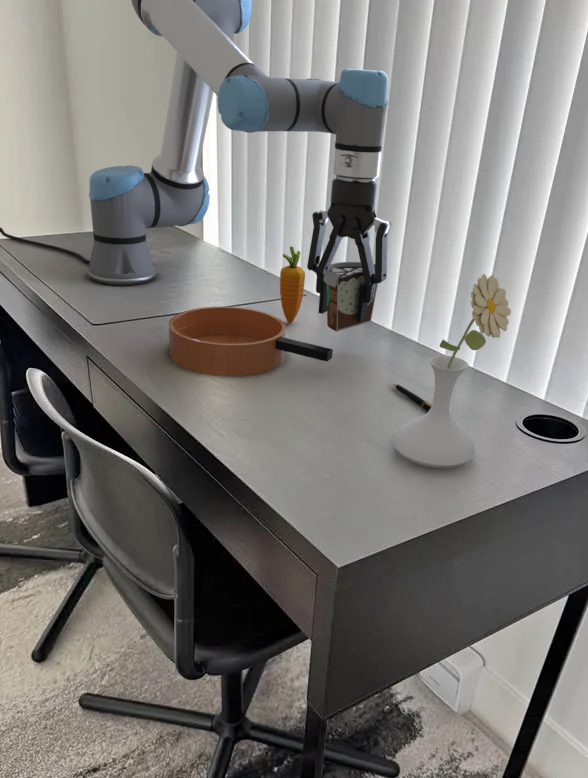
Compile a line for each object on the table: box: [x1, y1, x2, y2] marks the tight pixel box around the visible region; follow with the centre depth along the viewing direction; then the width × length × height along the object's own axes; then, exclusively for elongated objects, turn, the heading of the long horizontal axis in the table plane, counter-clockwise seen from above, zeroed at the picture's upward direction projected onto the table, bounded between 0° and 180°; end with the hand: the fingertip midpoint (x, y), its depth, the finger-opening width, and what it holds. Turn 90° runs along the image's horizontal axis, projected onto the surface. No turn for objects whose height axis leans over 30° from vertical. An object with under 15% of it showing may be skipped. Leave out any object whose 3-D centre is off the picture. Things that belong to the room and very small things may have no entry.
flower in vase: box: [391, 273, 512, 469], centre depth 92 cm, size 13×11×25 cm
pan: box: [168, 306, 287, 377], centre depth 125 cm, size 20×20×6 cm
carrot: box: [279, 246, 306, 324], centre depth 139 cm, size 5×5×15 cm
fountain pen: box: [392, 382, 432, 413], centre depth 112 cm, size 14×1×2 cm, turn 28°
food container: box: [324, 261, 379, 332], centre depth 125 cm, size 12×6×10 cm, turn 135°
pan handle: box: [275, 337, 334, 362], centre depth 118 cm, size 10×2×2 cm, turn 62°
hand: (342, 315), depth 127 cm, fingers closed on food container, 7 cm apart
